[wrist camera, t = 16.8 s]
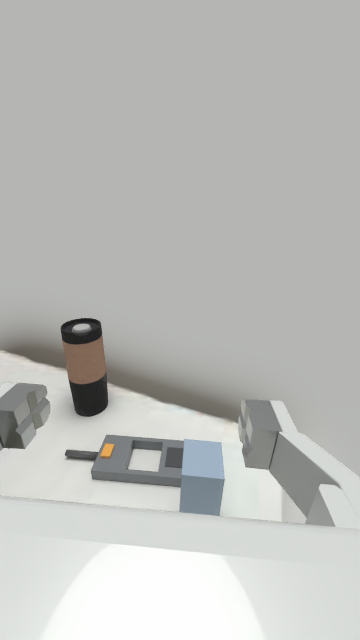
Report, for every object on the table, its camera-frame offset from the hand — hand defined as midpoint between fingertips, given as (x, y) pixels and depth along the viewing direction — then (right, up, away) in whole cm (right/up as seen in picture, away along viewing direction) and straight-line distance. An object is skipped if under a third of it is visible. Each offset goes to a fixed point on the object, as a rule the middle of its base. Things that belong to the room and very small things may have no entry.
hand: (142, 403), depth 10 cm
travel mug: (-19, -16, +45) cm, 51 cm away
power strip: (-6, -22, +32) cm, 39 cm away
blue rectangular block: (+4, -26, +23) cm, 34 cm away
